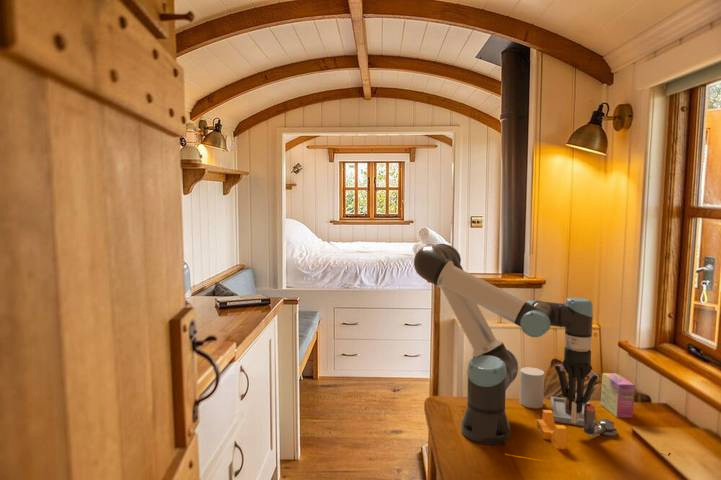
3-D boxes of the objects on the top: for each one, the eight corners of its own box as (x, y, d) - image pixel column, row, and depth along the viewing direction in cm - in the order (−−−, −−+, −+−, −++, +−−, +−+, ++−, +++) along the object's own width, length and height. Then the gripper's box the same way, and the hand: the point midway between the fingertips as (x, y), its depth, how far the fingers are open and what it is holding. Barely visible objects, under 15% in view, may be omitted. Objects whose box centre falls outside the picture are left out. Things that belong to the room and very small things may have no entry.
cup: (545, 401, 161) (546, 370, 160) (541, 410, 154) (542, 377, 153) (522, 396, 165) (523, 365, 164) (517, 404, 158) (518, 372, 158)
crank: (603, 423, 142) (604, 394, 141) (617, 429, 138) (618, 399, 137) (579, 433, 135) (580, 402, 135) (592, 439, 132) (593, 407, 131)
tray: (553, 421, 146) (553, 416, 146) (550, 401, 161) (550, 396, 161) (595, 427, 141) (595, 422, 141) (588, 406, 157) (588, 401, 157)
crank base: (591, 430, 139) (591, 427, 139) (600, 425, 143) (601, 422, 143) (664, 459, 123) (664, 456, 123) (672, 453, 127) (672, 449, 127)
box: (633, 418, 148) (635, 384, 147) (616, 418, 148) (618, 384, 148) (616, 404, 159) (617, 372, 158) (600, 404, 159) (601, 372, 158)
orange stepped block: (536, 429, 141) (537, 409, 140) (550, 429, 141) (550, 410, 140) (550, 449, 129) (551, 428, 129) (565, 449, 129) (566, 428, 128)
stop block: (565, 412, 150) (566, 395, 150) (564, 407, 154) (565, 391, 154) (578, 414, 149) (579, 397, 148) (577, 409, 152) (578, 392, 152)
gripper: (551, 345, 138) (549, 418, 139) (595, 355, 129) (592, 433, 130) (561, 341, 143) (559, 411, 144) (604, 350, 134) (601, 425, 135)
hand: (575, 421), depth 137 cm, fingers closed
